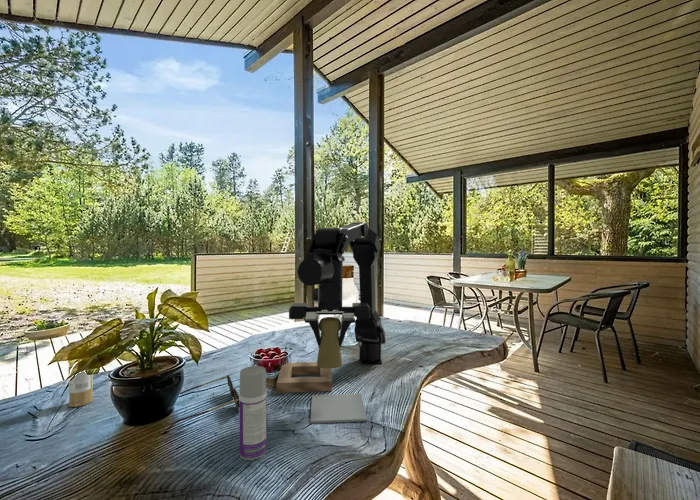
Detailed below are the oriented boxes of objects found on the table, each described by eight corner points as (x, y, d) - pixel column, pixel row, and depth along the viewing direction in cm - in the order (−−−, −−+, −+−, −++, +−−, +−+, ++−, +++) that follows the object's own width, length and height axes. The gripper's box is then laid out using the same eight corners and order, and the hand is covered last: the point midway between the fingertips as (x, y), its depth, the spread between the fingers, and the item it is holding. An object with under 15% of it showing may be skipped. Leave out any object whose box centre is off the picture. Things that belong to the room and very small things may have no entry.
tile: (360, 395, 84) (360, 393, 84) (367, 421, 72) (367, 418, 72) (312, 397, 83) (312, 395, 83) (310, 423, 71) (310, 421, 71)
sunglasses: (241, 418, 73) (239, 396, 73) (163, 443, 66) (161, 419, 66) (229, 392, 86) (228, 373, 86) (163, 410, 79) (161, 390, 79)
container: (243, 445, 63) (242, 366, 63) (268, 444, 63) (268, 365, 63) (236, 461, 58) (236, 376, 58) (264, 460, 59) (264, 375, 58)
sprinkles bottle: (95, 397, 82) (94, 342, 82) (90, 405, 78) (89, 347, 78) (71, 400, 80) (70, 344, 80) (65, 409, 76) (64, 350, 76)
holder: (330, 370, 100) (330, 361, 100) (332, 391, 86) (332, 381, 86) (282, 371, 99) (282, 363, 99) (276, 392, 85) (276, 383, 85)
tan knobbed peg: (343, 360, 82) (344, 315, 82) (340, 369, 76) (340, 321, 76) (319, 359, 83) (320, 314, 83) (314, 368, 77) (314, 320, 77)
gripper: (365, 277, 88) (365, 337, 88) (293, 277, 87) (293, 338, 87) (371, 282, 77) (370, 350, 77) (288, 282, 76) (288, 351, 76)
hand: (329, 347), depth 80 cm, fingers closed on tan knobbed peg, 4 cm apart
